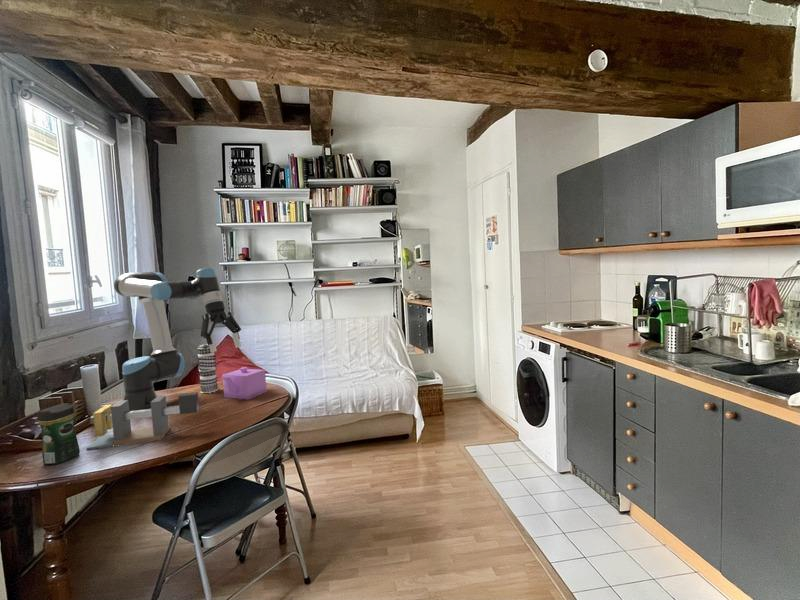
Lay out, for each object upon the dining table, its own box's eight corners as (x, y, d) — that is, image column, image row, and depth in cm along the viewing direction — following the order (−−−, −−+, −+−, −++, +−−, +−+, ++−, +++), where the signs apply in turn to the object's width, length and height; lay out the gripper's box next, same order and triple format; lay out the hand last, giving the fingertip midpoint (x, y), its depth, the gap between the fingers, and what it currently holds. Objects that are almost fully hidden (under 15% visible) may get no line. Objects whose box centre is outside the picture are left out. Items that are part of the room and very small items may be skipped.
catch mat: (101, 437, 162) (101, 435, 162) (125, 434, 164) (125, 432, 164) (86, 450, 151) (86, 448, 151) (112, 446, 153) (112, 444, 153)
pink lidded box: (212, 402, 202) (210, 373, 202) (250, 388, 225) (248, 362, 224) (237, 404, 196) (234, 374, 196) (273, 389, 219) (271, 363, 218)
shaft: (94, 422, 158) (92, 403, 157) (199, 409, 167) (197, 391, 166) (89, 425, 154) (87, 406, 154) (197, 412, 163) (195, 394, 162)
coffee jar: (66, 452, 149) (61, 401, 148) (84, 453, 147) (78, 401, 146) (37, 465, 140) (31, 410, 139) (55, 466, 138) (49, 410, 137)
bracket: (124, 434, 164) (121, 399, 163) (170, 428, 168) (167, 394, 167) (112, 446, 153) (108, 408, 152) (161, 439, 157) (157, 402, 156)
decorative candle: (207, 394, 216) (202, 346, 215) (196, 393, 221) (191, 345, 219) (222, 390, 224) (218, 343, 223) (211, 388, 229) (207, 342, 227)
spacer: (107, 426, 162) (105, 405, 161) (114, 425, 162) (112, 404, 162) (95, 436, 152) (93, 413, 151) (103, 435, 152) (100, 412, 152)
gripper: (195, 301, 172) (209, 351, 170) (241, 299, 195) (253, 343, 193) (183, 306, 175) (196, 356, 173) (229, 304, 198) (241, 347, 196)
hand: (226, 349), depth 183 cm, fingers open, 13 cm apart
